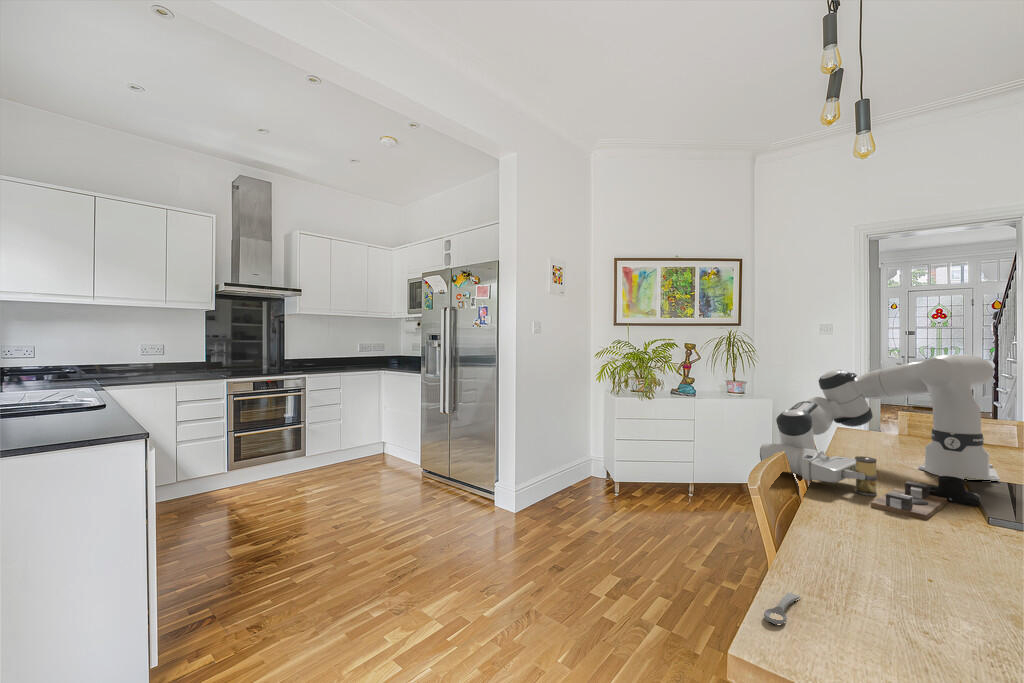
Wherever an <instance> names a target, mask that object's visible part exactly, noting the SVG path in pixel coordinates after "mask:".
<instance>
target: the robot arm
mask: <svg viewBox="0 0 1024 683" xmlns="http://www.w3.org/2000/svg"><path fill="white" fill-rule="evenodd" d="M993 377H994V367H993V365H992V363H991V362H990V361H988V360H987V359H985V358H983V357H980V356H978V355H974V354H968V353H967V354H966V353H965V354H939V355H935V356H931V357H929V358H927V359H924V360H921V361H915V362H908V363H902V364H898V365H893V366H888V367H884V368H879V369H876V370H872V371H869V372H867V373H864V374H862V375H861V374H860V375H859V376H858V375H857V373H854V372H849V371H848V370H844V369H837V370H831V371H828V372H826V373H824V374H823V375H822V376H820V377H819V379H818V385H819V388H820V389H821V390H822V392H823V395H824V397H822V396H815V397H812V398H809V399H808V400H806V401H805V400H803V401H799V402H798V403H796V404H795V405H793V406H791V408H789V409H788V410H783V411H781V412H780V414H779V415H778V416H777V417H776V419H775V420H776V425H777V429H778V433H779V438H780V443H762V444H761V446H760V448H759V458H760V462H761V461H762V460H764V459H766V458H768V457H770V456H772V455H773V454H775V453H777V452H781V451H785V452H784V453H785V454H786V456H787V459H788V461H789V465H790V468H791V472H792V473H791V474H793V475H794V474H795V475H798V476H800V477H802V480H805V481H812V480H813V481H818V482H824V483H825V482H826V483H840V482H841V481H844V480H845V479H850V480H851V479H852V480H853V479H855V480H856V479H861V480H865V479H866V478H867V474H866V473H863V472H856V460H855V458H852V457H845V456H844V457H843V456H838V455H837V456H836V455H835V456H834V455H833V456H828V455H826V453H825V451H822V450H818V449H816V443H815V436H819V435H820V436H821V435H823V434H825V433H826V432H827V431H829V429H830V428H831V427H832V424H833V422H835V423H836V424H841V425H842V426H846V427H849V428H850V427H851V428H852V427H853V428H854V427H859V426H864V425H866V424H868V423H869V422H871V420H872V419H873V412H872V408H871V407H869V403H868V402H867V400H866V399H868V400H886V399H897V398H904V397H911V396H917V395H924V394H928V395H929V398H930V401H931V406H932V425H933V426H932V429H931V433H930V436H931V437H930V438H931V439H930V440H931V442H930V443H928V444H926V445H925V451H924V452H925V454H924V464H919V465H918V469H919V470H921V471H926V472H928V473H930V474H932V475H935V476H938V477H939V476H952V477H957V478H961V479H963V480H964V478H965V477H970V478H976V479H984V480H992V481H998V482H997V483H1000V481H1001V480H1000V477H999V475H998V473H997V471H996V469H995V468H993V464H990V453H989V452H988V451H987V450H986V449H985V448H984V446H983V445H985V444H984V440H985V439H984V438H985V437H984V434H983V433H982V414H981V413H982V412H981V407H980V405H979V404H978V403H977V402H976V401H975V398H974V395H973V392H972V388H977V387H980V386H983V385H984V384H986V383H988V382H989V381H990V380H992V378H993Z"/></svg>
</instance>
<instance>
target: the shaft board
mask: <svg viewBox="0 0 1024 683" xmlns="http://www.w3.org/2000/svg"><path fill="white" fill-rule="evenodd" d="M926 484H927V483H924V484H920V483H919V482H914V481H909V480H908V481H906V482H905V483H904V489H900V488H896V487H894V488H893V489H891V490H889V491H888V492H886V493H885V494H884V493H883V495H881V496H878V498H876V499H874V500H873V501H871V502H870V507H871V508H875V509H879V510H883V511H888V512H892V513H895V514H898V515H899V514H900V515H904V516H908V517H913V518H916V519H917V518H918V519H921V520H925V521H927V520H929V519H930V518H931V517H932V516H933V515H934V514H936V513H937V512H938V511H939V510H941V509H942V508H943V507H945V506H946V505H947V504H948V502H947V498H942V497H937V496H932V495H930V485H931V484H930V485H926Z"/></svg>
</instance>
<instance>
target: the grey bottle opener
mask: <svg viewBox="0 0 1024 683" xmlns="http://www.w3.org/2000/svg"><path fill="white" fill-rule="evenodd" d="M799 598H800V599H801V596H799V595H798V594H794V593H792V592H787V593H786V594H785V595H784V596H783V597H782V598H781V600H780V601H779V603H778V604H777V605H776V606H775V607H772V608H767V609H765V610H764V612H763V617H764V619H765V620H766V622H768V621H769V622H771V623H773V624H783V623H784V622H785V623H786V622H787V619H788V617H787V615H786V613H785V610H786V608H787V607H788V606H790V604H793V603H795V602H794V601H796V600H797V599H799ZM796 602H797V601H796ZM771 613H773V614H774V613H776V614H779V615H781V616H782V617H783V620H776V619H772V618H770V614H771ZM769 622H768V623H769ZM771 623H770V624H771ZM785 623H784V624H785ZM773 624H772V625H773ZM784 624H783V625H784Z"/></svg>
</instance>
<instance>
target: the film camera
mask: <svg viewBox="0 0 1024 683" xmlns="http://www.w3.org/2000/svg"><path fill="white" fill-rule="evenodd" d="M937 480H938V481H937V482H938V485H936V484H931V483H930V484H928V483H925V482H924V483H923V482H922V483H920V484H926V485H930V495H932V496H937V497H942V498H947V504H948V503H949V504H955V505H961V506H967V507H973V508H979V507H978V503H979V504H980V498H981V496H980V495H979V493H978V492H976V491H974V490H969V489H966V480H963V479H961V478H957V477H952V476H939V475H938V479H937ZM979 497H980V498H979Z"/></svg>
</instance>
